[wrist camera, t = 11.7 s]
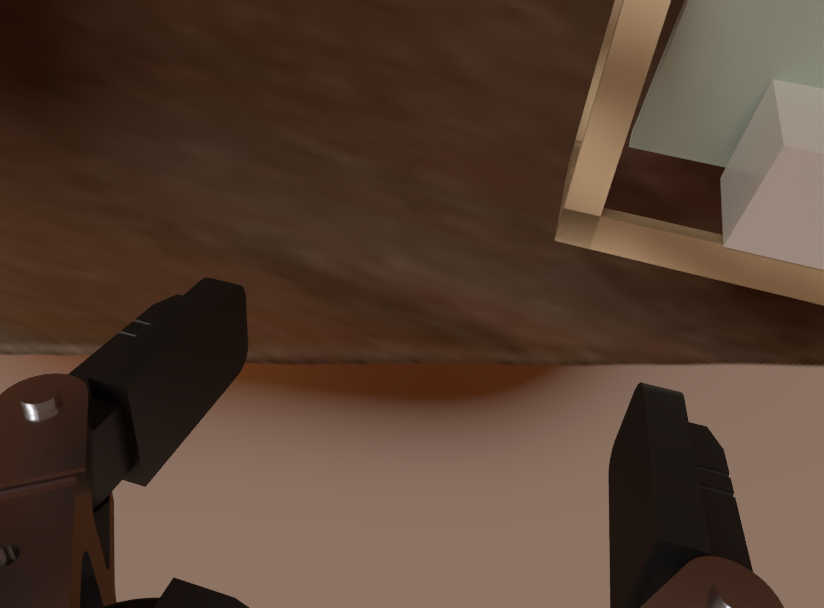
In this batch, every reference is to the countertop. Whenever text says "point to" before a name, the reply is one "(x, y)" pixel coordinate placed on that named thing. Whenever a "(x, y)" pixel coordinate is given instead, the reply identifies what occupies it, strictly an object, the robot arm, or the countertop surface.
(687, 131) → the trapdoor
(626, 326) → the countertop surface
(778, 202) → the white cube
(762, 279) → the frame
